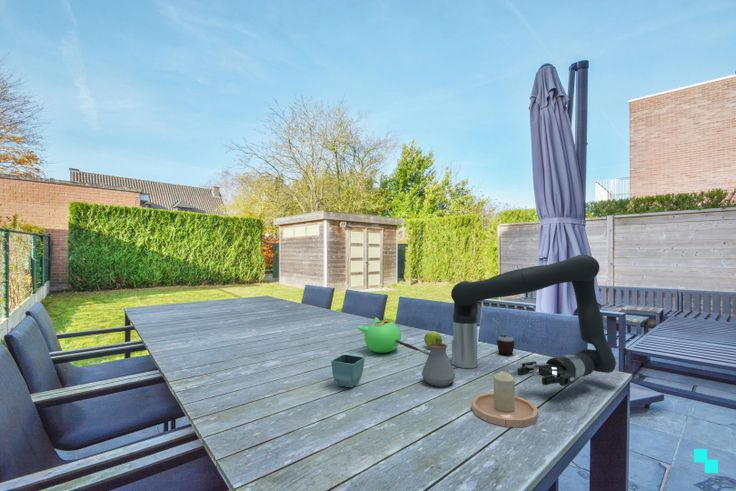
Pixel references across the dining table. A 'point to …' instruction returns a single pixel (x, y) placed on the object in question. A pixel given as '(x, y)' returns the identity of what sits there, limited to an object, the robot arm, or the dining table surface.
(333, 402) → the dining table surface
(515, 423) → the saucer
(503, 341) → the mate gourd
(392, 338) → the green teapot
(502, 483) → the dining table surface
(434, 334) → the apple
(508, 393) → the candle
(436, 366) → the coffee pot
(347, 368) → the flower pot
